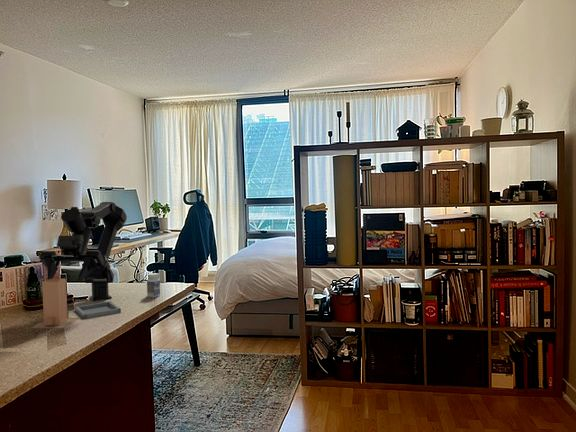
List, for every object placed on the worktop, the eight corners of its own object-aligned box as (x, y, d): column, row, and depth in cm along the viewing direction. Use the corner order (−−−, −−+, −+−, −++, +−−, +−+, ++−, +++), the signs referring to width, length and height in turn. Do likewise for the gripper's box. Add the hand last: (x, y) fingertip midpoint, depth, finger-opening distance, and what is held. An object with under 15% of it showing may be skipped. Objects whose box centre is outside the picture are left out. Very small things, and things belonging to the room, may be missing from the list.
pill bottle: (156, 297, 161) (155, 275, 161) (144, 297, 162) (144, 274, 162) (162, 294, 166) (161, 272, 165) (151, 294, 167) (150, 272, 166)
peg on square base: (48, 320, 134) (47, 306, 133) (80, 320, 134) (80, 305, 134) (29, 331, 124) (28, 315, 123) (64, 330, 124) (64, 315, 124)
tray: (75, 312, 142) (75, 306, 142) (110, 306, 149) (110, 301, 149) (84, 321, 133) (83, 314, 132) (120, 314, 139) (120, 308, 139)
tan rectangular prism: (52, 320, 131) (50, 278, 130) (67, 320, 131) (65, 278, 130) (40, 327, 125) (38, 283, 124) (56, 326, 125) (54, 283, 124)
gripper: (40, 226, 138) (21, 266, 128) (99, 225, 138) (85, 265, 128) (54, 247, 146) (37, 286, 136) (109, 246, 147) (97, 285, 136)
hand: (63, 280), depth 134 cm, fingers open, 9 cm apart
